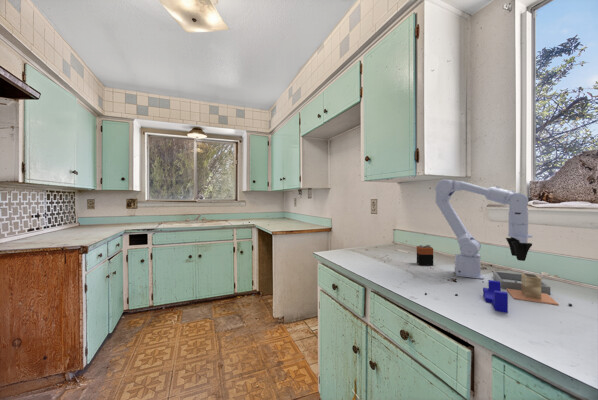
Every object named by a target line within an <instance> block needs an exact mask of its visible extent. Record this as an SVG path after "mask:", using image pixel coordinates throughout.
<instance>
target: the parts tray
mask: <svg viewBox="0 0 598 400" xmlns="http://www.w3.org/2000/svg"><path fill="white" fill-rule="evenodd" d="M492 277H493V279H494V281H500V287H501V289H506V288H507V289H515V290H522V288H521V282H515V281H521V273H515V272H514V273H512V272H506V271H495V270H493V271H492ZM503 279H505V280H503ZM507 280H514V281H507ZM507 289H506V290H507ZM541 293H545V294H548V295H551V286H550V285H549V284H547V282H545V281H544V280H542V279H541Z"/></svg>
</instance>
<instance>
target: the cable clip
mask: <svg viewBox="0 0 598 400" xmlns="http://www.w3.org/2000/svg"><path fill="white" fill-rule="evenodd" d="M487 281H488V285H487V286H488V287H482V290H483V292H482V294H483V298H484V301H485V303H489V304H491V306H492V307H493V310H494V311H495V312H500V313H506V314H508V313H509V307H508V306H509V305H508V303H509V294H508V293H509V292H508V291H502V288H501V287H500V281H496V280H495V279H494V280H493V279H488V280H487Z"/></svg>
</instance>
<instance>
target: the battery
mask: <svg viewBox="0 0 598 400" xmlns="http://www.w3.org/2000/svg"><path fill="white" fill-rule="evenodd" d="M416 264H418V265H419V266H422V267H423V266H428V267H429V266H430V267H431V266H434V248H433V247H432V246H431V245H430V244H425V245H422V244H420V245H417V246H416Z"/></svg>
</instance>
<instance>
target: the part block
mask: <svg viewBox="0 0 598 400" xmlns="http://www.w3.org/2000/svg"><path fill="white" fill-rule="evenodd" d="M520 274H521V280H520V281H521V282H520V283H521V288H522V294H523V295H524V296H525V297H530V298H537V299H541V280H542V278H541V277H540V276H539V275H538V274H532V273H523V272H521V273H520Z"/></svg>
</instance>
